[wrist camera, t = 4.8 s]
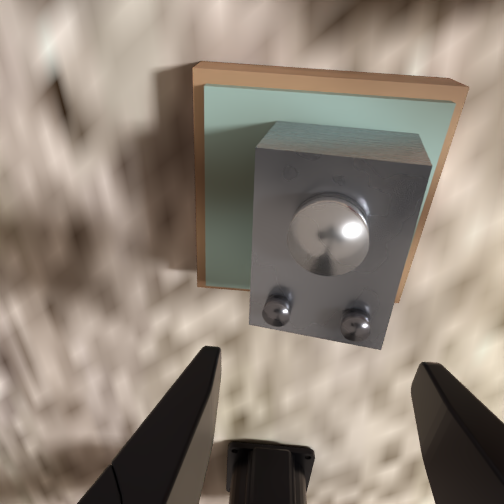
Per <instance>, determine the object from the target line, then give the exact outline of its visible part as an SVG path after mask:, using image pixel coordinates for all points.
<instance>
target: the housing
mask: <svg viewBox="0 0 504 504" xmlns="http://www.w3.org/2000/svg"><path fill="white" fill-rule="evenodd" d="M431 169H432V164H431V161H430V159H429V157H428V154H427V152H426V150H425V147H424V145H423V143H422V140H421V138H420V136H419V134H418V133H407V132H396V131H384V130H373V129H362V128H351V127H340V126H329V125H318V124H307V123H296V122H285V121H277V122H276V123H275V124H274V126H273V127H272V128H271V129H270V130H269V132H268V133H267V134H266V135H265V136H264V138H263V139H262V140H261V141H260V142H259V144H258V145H257V146H256V147H255V173H254V201H253V229H252V257H251V284H250V312H249V325H254V326H260V327H265V328H270V329H275V330H280V331H285V332H291V333H296V334H301V335H306V336H311V337H317V338H322V339H327V340H332V341H337V342H342V343H348V344H353V345H358V346H363V347H368V348H374V349H379V350H381V348H382V344H383V341H384V337H385V334H386V330H387V327H388V323H389V319H390V316H391V312H392V309H393V305H394V302H395V298H396V294H397V291H398V287H399V284H400V280H401V277H402V273H403V269H404V266H405V262H406V259H407V255H408V252H409V248H410V244H411V241H412V237H413V234H414V230H415V227H416V223H417V219H418V216H419V212H420V209H421V205H422V202H423V198H424V194H425V191H426V187H427V184H428V180H429V177H430V173H431Z"/></svg>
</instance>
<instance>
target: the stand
mask: <svg viewBox="0 0 504 504" xmlns="http://www.w3.org/2000/svg"><path fill="white" fill-rule="evenodd" d="M192 71H193V115H194V159H195V203H196V247H197V287H205V288H217V289H230V290H242V291H250V284H251V257H252V229H253V201H254V173H255V147H256V146H257V145H258V144H259V142H260V141H261V140H262V139H263V138H264V136H265V135H266V134H267V133H268V132H269V130H270V129H271V128H272V127H273V126H274V124H275V123H276V122H277V121H285V122H296V123H307V124H318V125H329V126H340V127H351V128H362V129H373V130H384V131H396V132H407V133H418V134H419V136H420V138H421V140H422V143H423V145H424V147H425V150H426V152H427V154H428V157H429V159H430V161H431V164H432V169H431V173H430V177H429V180H428V184H427V187H426V191H425V194H424V198H423V202H422V205H421V209H420V212H419V216H418V219H417V223H416V227H415V230H414V234H413V237H412V241H411V244H410V248H409V252H408V255H407V259H406V262H405V266H404V269H403V273H402V277H401V280H400V284H399V287H398V291H397V294H396V298H395V302H394V303H399V301H400V298H401V295H402V291H403V288H404V285H405V282H406V279H407V276H408V273H409V270H410V267H411V264H412V261H413V258H414V255H415V252H416V249H417V246H418V243H419V240H420V237H421V234H422V231H423V227H424V224H425V221H426V218H427V215H428V212H429V209H430V206H431V203H432V200H433V197H434V194H435V191H436V188H437V185H438V182H439V179H440V176H441V173H442V170H443V167H444V163H445V160H446V157H447V154H448V151H449V148H450V145H451V142H452V139H453V136H454V133H455V130H456V127H457V124H458V121H459V118H460V115H461V112H462V109H463V106H464V103H465V99H466V96H467V93H468V90H469V87H468V86H466V85H464V84H461V83H459V82H457V81H455V80H452V79H450V78H439V77H425V76H411V75H396V74H382V73H367V72H353V71H338V70H324V69H309V68H295V67H280V66H266V65H251V64H237V63H222V62H208V61H201V62H200V63H198V64H197V65H196V66H194V67H193V68H192Z"/></svg>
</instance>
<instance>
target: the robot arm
mask: <svg viewBox="0 0 504 504" xmlns="http://www.w3.org/2000/svg"><path fill="white" fill-rule="evenodd" d="M220 382H221V349H220V348H219V347H213V346H204V347H203V348H202V349H201V350H200V351H199V353H198V354H197V355H196V356H195V358H194V359H193V360H192V361H191V363H190V364H189V365H188V366H187V368H186V369H185V370H184V371H183V373H182V374H181V375H180V376H179V378H178V379H177V380H176V381H175V383H174V384H173V385H172V386H171V388H170V389H169V390H168V391H167V393H166V394H165V395H164V397H163V398H162V399H161V400H160V402H159V403H158V404H157V405H156V407H155V408H154V409H153V410H152V412H151V413H150V414H149V415H148V417H147V418H146V419H145V420H144V422H143V423H142V424H141V425H140V427H139V428H138V429H137V430H136V432H135V433H134V434H133V435H132V437H131V438H130V439H129V440H128V442H127V443H126V444H125V445H124V447H123V448H122V449H121V450H120V452H119V453H118V454H117V456H116V457H115V458H114V459H113V461H112V465H108V467H107V468H106V469H105V470H104V472H103V473H102V474H101V475H100V477H99V478H98V479H97V480H96V482H95V483H94V484H93V485H92V486H91V488H90V489H89V490H88V491H87V492H86V494H85V495H84V496H83V497H82V498H81V499H80V501H79V502H78V503H77V504H199V500H200V496H201V491H202V487H203V483H204V479H205V475H206V471H207V466H208V462H209V458H210V454H211V449H212V444H213V439H214V432H215V424H216V415H217V407H218V398H219V390H220ZM411 396H412V402H413V408H414V413H415V419H416V424H417V430H418V436H419V441H420V447H421V452H422V457H423V461H424V465H425V469H426V472H427V476H428V479H429V483H430V486H431V490H432V493H433V496H434V500H435V503H436V504H504V423H503V422H502V421H501V420H500V419H499V418H497V417H496V416H495V415H494V414H493V413H492V412H491V411H490V410H489V409H488V408H487V407H486V406H485V405H484V404H483V403H482V402H481V401H480V400H478V399H477V398H476V397H475V396H474V395H473V394H472V393H471V392H470V391H469V390H468V389H467V388H466V387H465V386H464V385H463V384H462V383H461V382H460V381H458V380H457V379H456V378H455V377H454V376H453V375H452V374H451V373H450V372H449V371H448V370H447V369H446V368H445V367H444V366H443V365H441V364H440V363H434V362H422V363H421V364H420V365H419V367H418V369H417V372H416V375H415V377H414V380H413V382H412V386H411ZM314 459H315V454H314V451H313V450H312V449H307V448H296V447H285V446H273V445H262V444H250V443H239V442H232V443H230V444H229V445H228V460H227V485H226V490H227V491H228V492H230V498H229V504H307V501H306V492H307V488H308V484H309V480H310V475H311V471H312V467H313V463H314Z"/></svg>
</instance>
